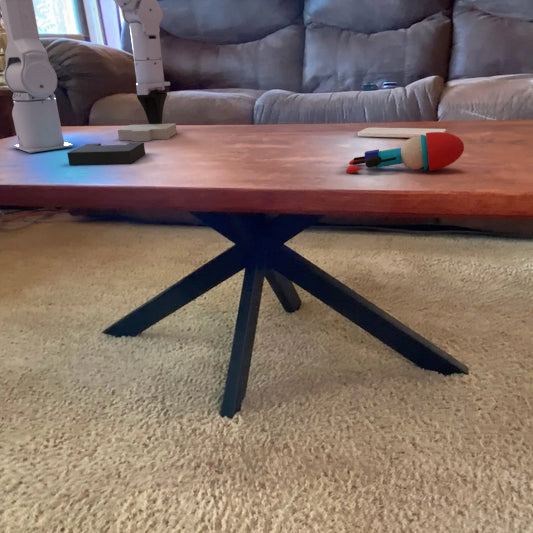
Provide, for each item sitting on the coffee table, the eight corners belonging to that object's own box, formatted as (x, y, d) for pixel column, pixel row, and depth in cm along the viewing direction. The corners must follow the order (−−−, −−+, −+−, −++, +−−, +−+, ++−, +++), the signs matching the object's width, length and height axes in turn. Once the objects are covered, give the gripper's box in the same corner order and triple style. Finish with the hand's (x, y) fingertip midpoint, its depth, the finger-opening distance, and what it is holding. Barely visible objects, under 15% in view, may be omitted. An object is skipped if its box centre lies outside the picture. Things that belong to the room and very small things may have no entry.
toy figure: (347, 186, 68) (467, 169, 63) (341, 148, 66) (464, 128, 62) (353, 177, 74) (462, 161, 70) (349, 143, 73) (460, 125, 68)
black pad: (88, 155, 88) (86, 143, 87) (145, 154, 87) (144, 142, 86) (69, 165, 80) (66, 152, 80) (131, 163, 80) (129, 150, 79)
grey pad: (131, 134, 110) (129, 124, 109) (176, 133, 109) (175, 123, 108) (115, 142, 101) (114, 131, 100) (165, 140, 100) (164, 130, 99)
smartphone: (368, 127, 101) (447, 128, 94) (367, 131, 101) (446, 133, 95) (356, 132, 95) (440, 134, 88) (356, 136, 95) (439, 139, 89)
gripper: (158, 60, 99) (166, 131, 104) (174, 58, 112) (181, 122, 117) (122, 61, 99) (132, 132, 105) (143, 60, 113) (151, 123, 118)
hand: (155, 127), depth 111 cm, fingers closed
